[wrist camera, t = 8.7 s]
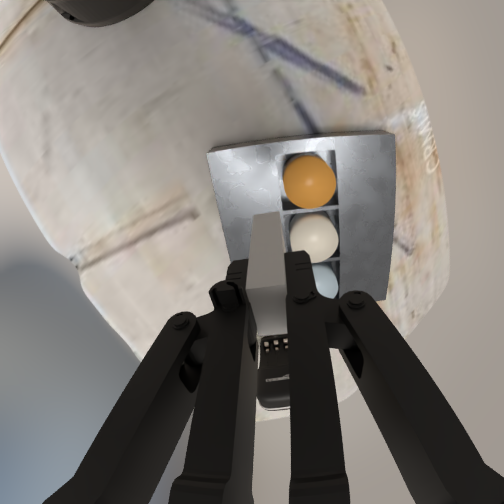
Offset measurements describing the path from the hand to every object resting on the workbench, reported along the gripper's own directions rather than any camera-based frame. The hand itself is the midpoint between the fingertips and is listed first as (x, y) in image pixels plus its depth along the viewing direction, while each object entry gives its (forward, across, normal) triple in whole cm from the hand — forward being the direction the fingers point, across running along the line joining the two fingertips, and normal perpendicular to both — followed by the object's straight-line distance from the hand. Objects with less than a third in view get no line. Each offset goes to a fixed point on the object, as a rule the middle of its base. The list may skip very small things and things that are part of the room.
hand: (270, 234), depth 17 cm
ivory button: (+12, +3, -7) cm, 14 cm away
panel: (+14, +3, -7) cm, 16 cm away
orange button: (+12, +4, -1) cm, 12 cm away
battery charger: (+14, -2, -25) cm, 28 cm away
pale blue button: (+11, +3, -13) cm, 18 cm away
